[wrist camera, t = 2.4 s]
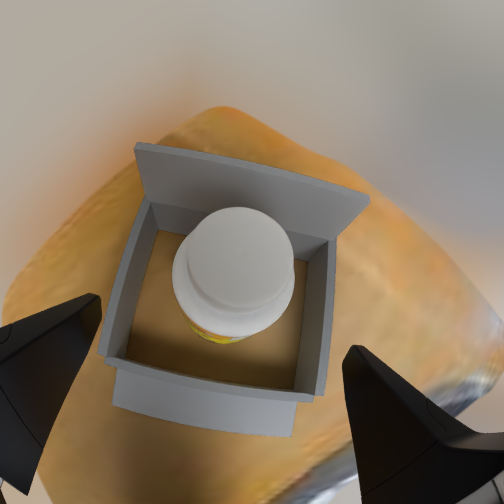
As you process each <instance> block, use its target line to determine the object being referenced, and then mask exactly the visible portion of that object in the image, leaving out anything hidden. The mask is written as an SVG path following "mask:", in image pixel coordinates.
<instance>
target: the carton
mask: <svg viewBox="0 0 504 504" xmlns="http://www.w3.org/2000/svg"><path fill="white" fill-rule="evenodd" d="M134 152H135V157H136V161H137V165H138V169H139V173H140V177H141V181H142V185H143V188H144V192H145V196H144V198H143V201H142V203H141V206H140V208H139V211H138V213H137V216H136V219H135V221H134V224H133V227H132V229H131V232H130V235H129V238H128V241H127V244H126V247H125V250H124V253H123V256H122V259H121V262H120V265H119V268H118V272H117V275H116V278H115V282H114V285H113V289H112V292H111V296H110V300H109V303H108V307H107V311H106V315H105V319H104V323H103V328H102V332H101V337H100V341H99V346H98V351H97V354H99V355H102V356H105V360H104V364H106V365H109V366H112V367H116V368H117V373H116V378H115V385H114V391H113V398H112V405H115V406H118V407H121V408H124V409H127V410H130V411H133V412H137V413H140V414H144V415H147V416H151V417H155V418H158V419H162V420H167V421H171V422H175V423H180V424H185V425H189V426H195V427H200V428H206V429H212V430H218V431H225V432H233V433H241V434H251V435H263V436H279V437H291V435H292V429H293V424H294V418H295V412H296V406H297V402H311V403H313V398H314V396H324V392H325V385H326V377H327V370H328V361H329V353H330V343H331V333H332V322H333V309H334V294H335V274H336V243H337V236H338V235H339V234H340V233H341V232H342V231H343V230H344V229H345V228H346V227H347V226H348V225H349V224H350V223H351V222H352V221H353V220H354V219H355V218H356V217H357V216H358V215H359V214H360V213H361V212H362V211H363V210H364V209H365V208H366V207H367V206H368V205H369V204H370V195H367V194H364V193H361V192H358V191H355V190H352V189H349V188H346V187H343V186H339V185H336V184H333V183H330V182H326V181H323V180H319V179H316V178H312V177H309V176H305V175H302V174H298V173H294V172H290V171H287V170H283V169H279V168H275V167H271V166H267V165H262V164H258V163H254V162H249V161H245V160H240V159H236V158H231V157H226V156H221V155H216V154H211V153H206V152H200V151H194V150H189V149H183V148H176V147H170V146H163V145H156V144H149V143H141V142H137V144H136V146H135V147H134ZM230 207H246V208H250V209H254V210H258V211H260V212H262V213H264V214H266V215H268V216H269V217H271V218H272V219H273V220H275V221H276V222H277V223H278V224H279V225H280V226H281V227H282V229H283V230H284V231H285V233H286V234H287V236H288V238H289V240H290V243H291V246H292V249H293V255H294V259H299V260H303V261H308V267H307V279H306V290H305V300H304V310H303V319H302V328H301V336H300V345H299V352H298V360H297V367H296V374H295V381H294V388H293V390H289V389H278V388H269V387H260V386H252V385H245V384H238V383H232V382H225V381H220V380H214V379H209V378H203V377H198V376H193V375H189V374H184V373H180V372H175V371H171V370H167V369H163V368H159V367H155V366H151V365H148V364H144V363H140V362H137V361H133V360H130V359H127V358H125V355H126V350H127V345H128V340H129V335H130V331H131V326H132V322H133V318H134V314H135V309H136V305H137V301H138V297H139V294H140V290H141V286H142V282H143V279H144V275H145V272H146V268H147V265H148V261H149V258H150V254H151V251H152V248H153V245H154V242H155V238H156V235H157V232H158V230H163V231H167V232H172V233H177V234H182V235H186V236H188V235H189V234H190V233H191V232H192V231H193V230H194V229H195V228H196V227H197V226H198V225H199V223H200V222H201V221H202V220H203V219H205V218H206V217H207V216H209V215H210V214H212V213H214V212H216V211H218V210H221V209H225V208H230Z"/></svg>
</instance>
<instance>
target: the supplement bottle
mask: <svg viewBox="0 0 504 504" xmlns="http://www.w3.org/2000/svg"><path fill="white" fill-rule="evenodd" d="M293 265H294V255H293V249H292V246H291V243H290V240H289V238H288V236H287V234H286V233H285V231H284V230H283V229H282V227H281V226H280V225H279V224H278V223H277V222H276V221H275V220H273V219H272V218H271V217H269V216H268V215H266V214H264V213H262V212H260V211H258V210H254V209H250V208H246V207H230V208H225V209H221V210H218V211H216V212H214V213H212V214H210V215H209V216H207V217H206V218H205V219H203V220H202V221H201V222H200V223H199V225H198V226H197V227H196V228H195V229H194V230H193V231H192V232H191V233H190V234H189V235H188V236H187V237H186V238H185V239H184V241H183V242H182V243H181V245H180V247H179V248H178V251H177V253H176V255H175V258H174V262H173V267H172V282H173V288H174V293H175V296H176V299H177V302H178V304H179V306H180V308H181V310H182V312H183V315H184V317H185V319H186V321H187V323H188V325H189V326H190V327H191V329H192V330H193V331H194V332H195V333H196V334H197V335H199V336H200V337H202V338H203V339H205V340H207V341H210V342H213V343H217V344H230V343H235V342H238V341H240V340H242V339H245V338H247V337H249V336H251V335H254V334H256V333H258V332H260V331H262V330H264V329H266V328H267V327H269V326H270V325H272V324H273V323H274V322H275V321H276V320H277V319H278V318H279V317H280V316H281V315H282V314H283V312H284V311H285V309H286V308H287V306H288V304H289V302H290V300H291V297H292V294H293V290H294V282H295V274H294V267H293Z"/></svg>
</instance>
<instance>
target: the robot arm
mask: <svg viewBox="0 0 504 504" xmlns="http://www.w3.org/2000/svg"><path fill="white" fill-rule="evenodd" d="M101 319H102V308H101V298H100V296H99V295H96V294H93V293H87V294H85V295H82V296H80V297H77V298H74V299H72V300H69V301H67V302H64V303H62V304H59V305H56V306H54V307H51V308H49V309H46V310H44V311H41V312H39V313H36V314H33V315H31V316H28V317H26V318H23V319H21V320H18V321H16V322H14V323H13V324H12V323H11V324H8V325H6V326H4V327H1V328H0V488H1V486H2V483H3V481H6V482H7V483H9V484H10V485H11V486H13V487H14V488H16V489H17V490H19V491H20V492H22V493H23V494H25V495H28V493H29V490H30V487H31V484H32V481H33V477H34V474H35V472H36V469H37V466H38V463H39V460H40V457H41V455H42V452H43V448H44V446H45V444H46V441H47V439H48V436H49V434H50V432H51V429H52V427H53V424H54V422H55V420H56V418H57V415H58V413H59V411H60V409H61V406H62V404H63V402H64V400H65V398H66V396H67V394H68V391H69V389H70V387H71V385H72V383H73V381H74V379H75V377H76V375H77V373H78V371H79V369H80V368H81V366H82V364H83V362H84V360H85V358H86V356H87V354H88V351H89V349H90V346H91V344H92V341H93V339H94V337H95V334H96V332H97V329H98V327H99V325H100V322H101ZM342 372H343V382H344V393H345V402H346V407H347V412H348V418H349V423H350V428H351V434H352V439H353V445H354V451H355V457H356V463H357V470H358V477H359V484H360V491H361V496H362V497H361V500H362V504H504V432H499V433H479V432H476V431H473V430H472V429H470V428H469V427H467V426H466V425H464V424H463V423H461V422H460V421H458V420H457V419H455V418H454V417H452V416H451V415H449V414H448V413H447V412H445V411H444V410H442V409H441V408H440V407H439V406H437V405H436V404H435V403H433V402H432V401H431V400H430V399H428V398H427V397H426V396H425V395H423V394H422V393H421V392H420V391H418V390H417V389H416V388H415V387H413V386H412V385H411V384H410V383H408V382H407V381H406V380H405V379H404V378H402V377H401V376H400V375H399V374H397V373H396V372H395V371H394V370H392V369H391V368H390V367H389V366H387V365H386V364H385V363H384V362H383V361H381V360H380V359H379V358H378V357H376V356H375V355H374V354H373V353H371V352H370V351H369V350H368V349H366V348H365V347H364V346H362V345H352V346H351V347H350V349H349V351H348V353H347V354H346V356H345V358H344V360H343V362H342ZM0 504H6V501H5V499H4V497H3V494H2V492H1V489H0Z"/></svg>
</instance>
